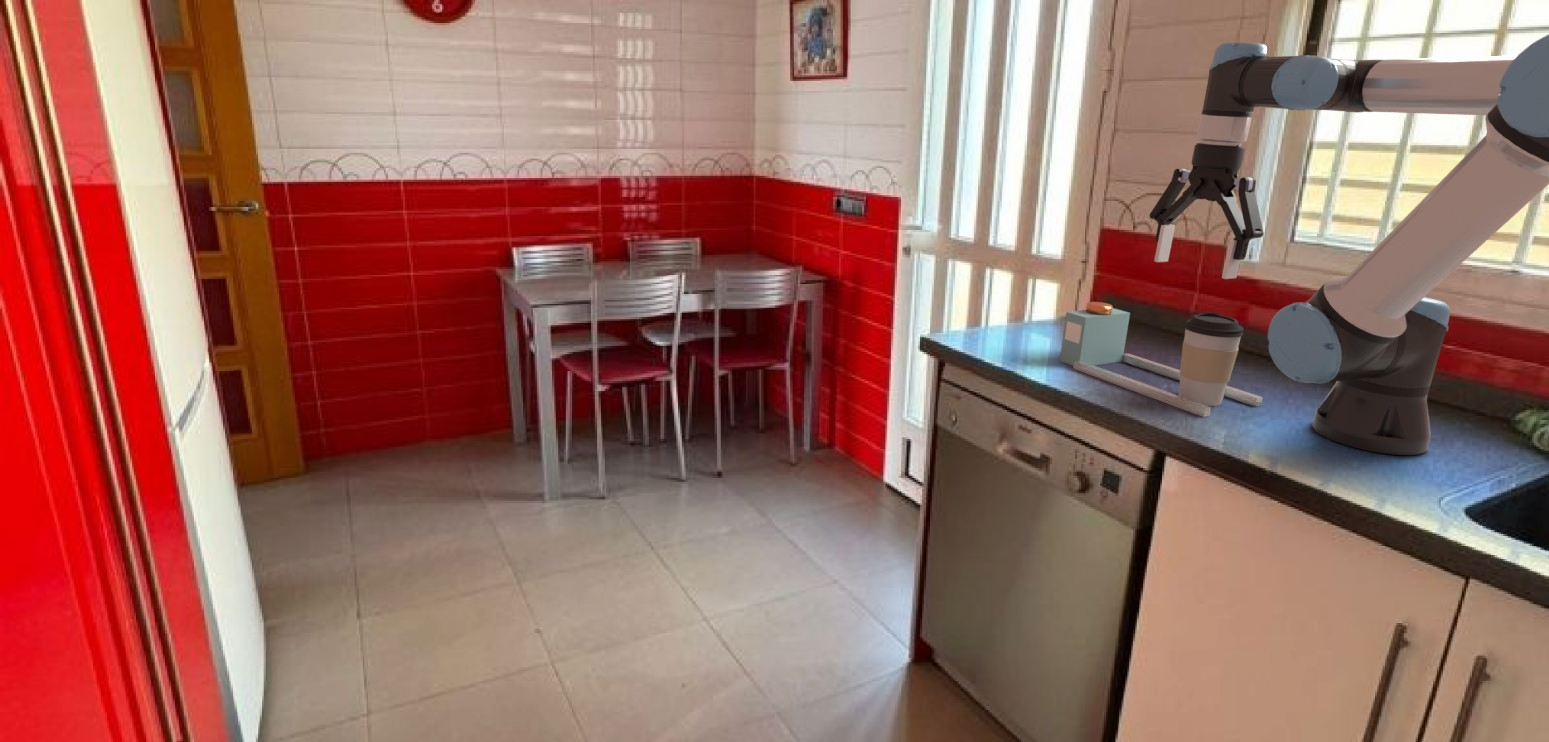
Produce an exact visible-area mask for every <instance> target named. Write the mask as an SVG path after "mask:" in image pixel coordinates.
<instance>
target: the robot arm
mask: <svg viewBox="0 0 1549 742" xmlns="http://www.w3.org/2000/svg"><path fill="white" fill-rule="evenodd" d="M1267 52H1268V47H1267V45H1266V44H1264V43H1256V42H1224V43H1223V42H1222V43H1220V44H1218V46H1217V47H1216V48H1215V51H1214V54H1213V57H1212V61H1211V65H1210V68H1209V69H1208V79H1207V85H1206V89H1205V90H1206V91H1205V93H1204V101H1203V105H1202V110H1201V114H1200V119H1199V123H1198V128H1197V132H1196V139H1197V140H1199V142H1198V143H1196V144H1194V149H1193V154H1192V157H1191V166H1192V169H1191V170H1190V169H1189V168H1176V169H1174V171H1173V175H1172V177H1171V181H1170V182H1169V184H1168V185H1167V187H1166V189H1165V190H1164V191H1163V193H1162V195H1161V196H1160V198H1159V199H1158V200H1157V203H1156V204H1155V205H1154V207H1153V208H1152V210H1151V211H1150V213H1149V218H1150V219H1151V220H1154V221H1156V222H1157V229H1156V235H1155V243H1157V245H1156V249H1155V250H1156V251H1155V255H1154V259H1153V260H1154V262H1156V263H1166V262H1169V258H1170V253H1171V249H1172V243H1173V239H1174V233H1175V229H1176V225H1175V224H1174V221H1175V220H1176V219H1177V218H1178V217H1179V216H1180V215H1182V213H1183V212H1184V211H1186V210H1187V209H1188V208H1189V207H1190V205H1192V204H1193V203H1194V202H1195V201H1196V200H1207V201H1209V202H1216V203H1217V205H1218V206H1220V208H1221V209H1222V212H1223V214H1224V216H1225V218H1226V220H1227V222H1228V224H1229V226H1230V228H1231V230H1232V233H1233V234H1234V238H1231V239H1230V240H1229V245H1228V249H1227V252H1226V258H1225V261H1224V266H1223V270H1222V275H1221V278H1222V279H1224V280H1228V279H1229V280H1230V279H1237V277H1238V272H1239V268H1240V265H1241V261H1242V260H1243V261H1244V260H1245V259H1246V256H1247V253H1248V252H1247V251H1248V248H1249V245H1250V243H1249V242H1250V241H1251V240H1253V239H1254V240H1255V239H1258V238H1263V236H1264V228H1263V224H1262V219H1261V215H1260V210H1259V206H1258V201H1257V196H1256V195H1257V194H1256V192H1255V191H1256V185H1257V179H1256V177H1253V176H1250V177H1249V176H1248V177H1247V176H1246V177H1245V176H1243V177H1240V178H1239V171H1240V169H1241V168H1242V166H1243V165H1242V164H1243V161H1244V157H1245V156H1244V155H1245V153H1246V152H1245V151H1246V148H1245V146H1244V145H1243V143H1244V144H1245V142H1247V141H1248V137H1249V132H1250V127H1251V123H1252V119H1253V116H1254V110H1255V108H1270V109H1280V110H1281V109H1282V110H1283V109H1285V110H1290V111H1305V110H1306V111H1308V110H1311V111H1312V110H1313V111H1314V110H1315V111H1316V110H1317V111H1334V112H1335V111H1336V112H1346V113H1374V112H1376V113H1400V114H1401V113H1402V114H1428V115H1430V114H1433V115H1463V116H1465V115H1467V116H1471V115H1472V116H1485V127H1486V133H1485V136H1484V137H1482V139H1481V140H1480V141H1479V142H1478V143H1477V144H1475V146H1474V147H1473V148H1472V149H1471V150H1470V151H1468V153H1467V154H1466V155H1465V156H1464V157H1463V158H1462V159H1461V160H1460V161H1459V162H1458V163H1457V164H1456V165H1455V167H1453V169H1451V170H1450V171H1449V172H1448V174H1446V176H1444V178H1443V179H1442V180H1441V181H1439V183H1437V185H1435V186H1434V188H1433V189H1432V190H1430V192H1428V194H1426V196H1424V198H1423V199H1422V200H1421V201H1420V202H1419V203H1418V204H1417V205H1416V206H1415V207H1414V208H1413V209H1412V210H1411V211H1410V212H1409V213H1408V214H1407V215H1406V216H1405V217H1404V218H1403V219H1402V220H1401V221H1400V222H1399V223H1398V224H1397V225H1396V226H1395V227H1394V228H1393V230H1391V232H1390V233H1388V234H1387V236H1385V238H1384V239H1382V240H1381V242H1379V243H1378V244H1377V246H1375V248H1374V249H1373V250H1372V251H1371V252H1369V254H1368V255H1367V256H1366V257H1365V258H1364V259H1363V260H1362V261H1361V262H1360V263H1359V264H1358V265H1357V266H1356V267H1355V268H1354V269H1353V270H1352V271H1351V272H1350V273H1349V275H1342V276H1341V275H1339V276H1333V277H1331V278H1329V279H1328V280H1327V281H1325V282H1324V283H1323V285H1321V287H1319V289H1318V290H1317V291H1316V292H1315V293H1314V294H1313V295H1312V296H1311V297H1310V298H1309V299H1308V300H1307V301H1305V302H1300V301H1299V302H1292V304H1289V305H1286V306H1284V307H1282V308H1281V309H1279V310H1278V311H1277V312H1276V313H1275V314H1274V316H1273V317H1272V319H1271V320H1270V324H1269V326H1268V330H1267V340H1268V351H1269V354H1270V357H1271V359H1272V361H1273V363H1274V364H1275V366H1276V368H1278V370H1279V371H1281V373H1283V375H1285V376H1286V377H1288V378H1289V379H1291V380H1293V381H1295V382H1299V383H1304V384H1305V383H1306V384H1310V383H1313V384H1327V383H1331V382H1335V384H1334V385H1333V386H1332V388H1331V389H1330V391H1329V392H1328V394H1327V396H1325V398H1324V399H1323V401H1322V402H1321V404H1320V405H1319V406H1318V409H1316V411H1315V412H1314V417H1313V422H1312V425H1311V426H1312V428H1313V430H1314V431H1315V432H1316V433H1318V434H1319V435H1320V436H1323V437H1325V438H1326V439H1329V440H1331V441H1333V442H1336V443H1339V444H1342V445H1345V446H1348V447H1351V448H1356V449H1358V450H1359V449H1360V450H1363V451H1369V452H1374V453H1380V454H1385V455H1387V454H1388V455H1394V456H1395V455H1398V456H1415V455H1421V454H1424V453H1426V452H1427V451H1428V448H1429V446H1430V441H1431V437H1432V433H1431V425H1430V416H1429V407H1428V395H1429V392H1430V388H1431V385H1432V382H1433V379H1434V375H1435V371H1436V368H1437V365H1438V360H1439V359H1440V358H1439V357H1440V355H1441V351H1442V347H1443V344H1444V341H1445V337H1446V334H1447V332H1448V331H1449V325H1448V324H1449V320H1450V316H1451V309H1450V306H1449V305H1448V304H1447V303H1446V302H1444V301H1442V300H1439V299H1438V300H1437V299H1433V298H1430V297H1426V296H1427V295H1428V294H1430V293H1431V292H1432V291H1433V290H1434V289H1435V288H1436V287H1437V286H1438V285H1439V284H1440V283H1441V282H1443V281H1444V280H1445V279H1446V278H1447V277H1448V276H1449V275H1450V274H1452V273H1453V272H1454V271H1455V270H1456V269H1457V268H1458V267H1459V266H1460V265H1461V264H1463V263H1464V262H1465V261H1466V260H1467V259H1468V258H1469V257H1470V256H1471V255H1472V254H1474V253H1475V251H1477V250H1478V249H1479V248H1480V247H1481V246H1483V244H1485V242H1486V241H1488V240H1489V239H1491V237H1493V235H1494V234H1496V233H1497V232H1498V231H1499V230H1500V229H1501V228H1502V227H1503V226H1505V224H1507V223H1508V222H1509V221H1510V220H1511V219H1512V218H1513V217H1514V216H1516V215H1517V214H1518V213H1519V212H1520V211H1521V210H1522V209H1523V208H1524V207H1526V205H1527V204H1529V203H1530V202H1531V201H1532V200H1533V199H1534V198H1535V197H1537V196H1538V194H1540V193H1541V192H1542V191H1543V190H1544V189H1545V188H1546V187H1548V185H1549V33H1547V34H1545V35H1543V36H1541V37H1540V38H1538V39H1537V40H1535V41H1533V42H1532V43H1530V44H1529V45H1528V46H1526V47H1525V48H1524V49H1523V50H1522V51H1520V53H1519V54H1518V55H1502V56H1501V55H1499V56H1498V55H1497V56H1492V55H1491V56H1465V57H1464V56H1462V57H1461V56H1460V57H1427V58H1426V57H1425V58H1400V59H1399V58H1397V59H1396V58H1394V59H1391V58H1389V59H1337V58H1328V57H1326V56H1318V55H1311V54H1310V55H1308V54H1302V55H1301V54H1300V55H1283V56H1281V55H1280V56H1268V55H1267ZM1187 182H1189V184H1190V185H1189V186H1188V187H1187V188H1186V189H1185V190H1184V191H1183V192H1182V190H1183V189H1184V187H1185V186H1186V184H1187ZM1235 188H1236V190H1237V192H1238V193H1237V194H1238V198H1237V196H1236V194H1235V191H1234V189H1235ZM1181 192H1182V194H1181ZM1180 194H1181V195H1180ZM1179 195H1180V196H1179ZM1178 196H1179V198H1178ZM1176 199H1177V200H1176ZM1238 200H1239V204H1238Z"/></svg>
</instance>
